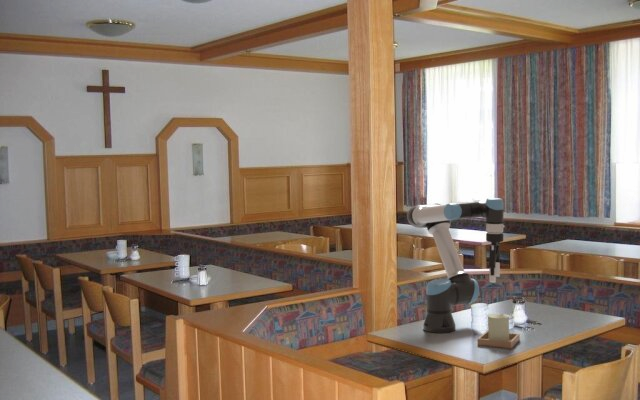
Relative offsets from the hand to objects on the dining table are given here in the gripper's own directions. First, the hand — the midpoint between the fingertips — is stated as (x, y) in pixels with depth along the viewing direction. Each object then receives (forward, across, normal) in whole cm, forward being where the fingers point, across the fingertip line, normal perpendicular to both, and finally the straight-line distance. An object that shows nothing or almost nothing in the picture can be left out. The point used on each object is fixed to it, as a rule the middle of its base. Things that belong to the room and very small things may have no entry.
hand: (494, 279), depth 315 cm
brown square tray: (+26, -10, -3) cm, 28 cm away
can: (+26, -10, -3) cm, 28 cm away
